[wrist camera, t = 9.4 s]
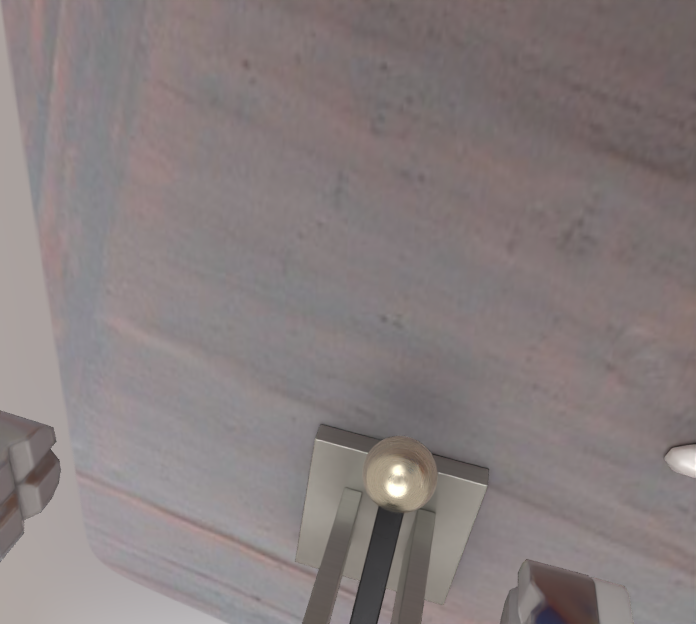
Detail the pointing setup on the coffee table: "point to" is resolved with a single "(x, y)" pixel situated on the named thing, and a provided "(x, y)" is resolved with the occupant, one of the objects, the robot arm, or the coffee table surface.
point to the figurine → (683, 460)
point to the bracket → (358, 520)
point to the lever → (390, 512)
